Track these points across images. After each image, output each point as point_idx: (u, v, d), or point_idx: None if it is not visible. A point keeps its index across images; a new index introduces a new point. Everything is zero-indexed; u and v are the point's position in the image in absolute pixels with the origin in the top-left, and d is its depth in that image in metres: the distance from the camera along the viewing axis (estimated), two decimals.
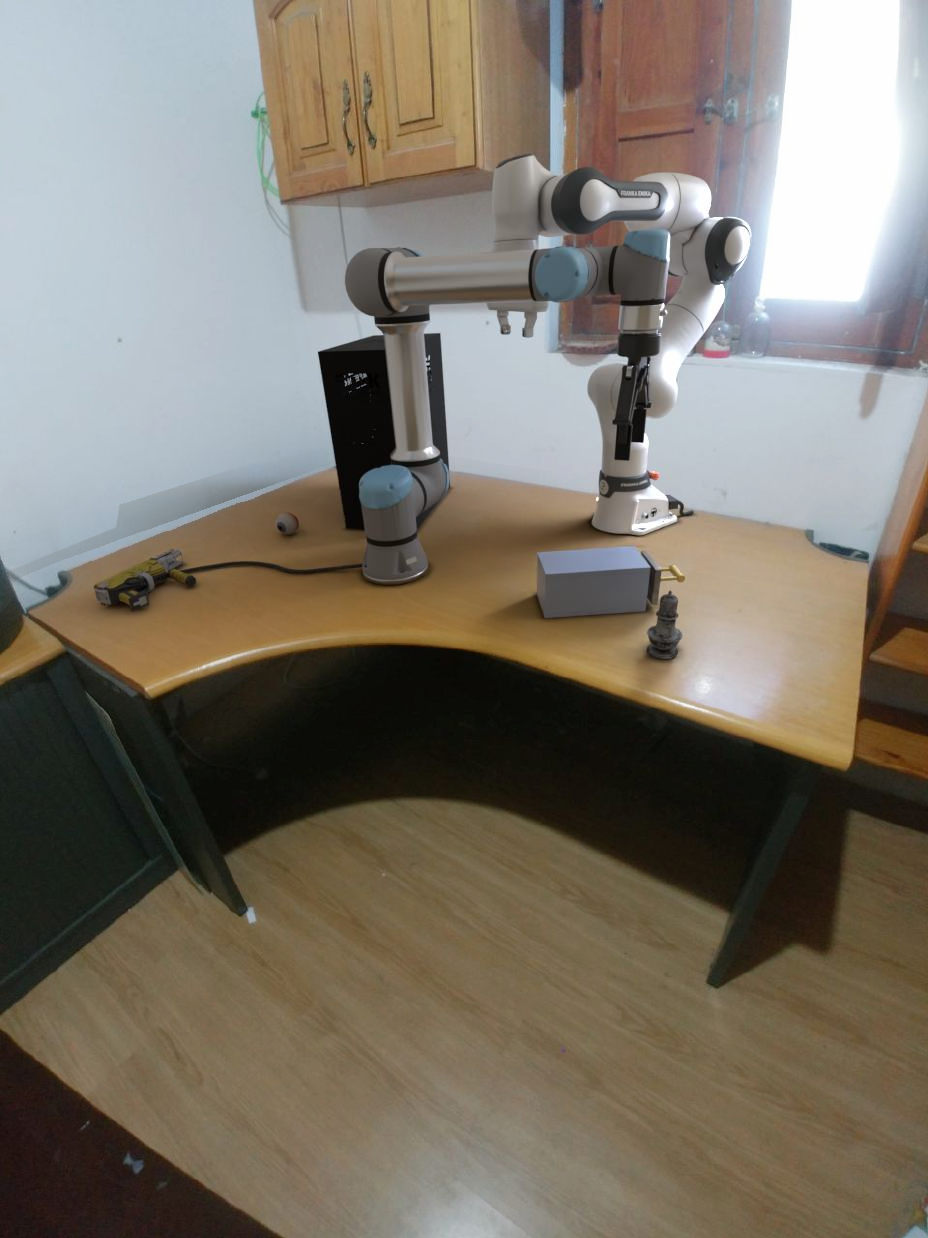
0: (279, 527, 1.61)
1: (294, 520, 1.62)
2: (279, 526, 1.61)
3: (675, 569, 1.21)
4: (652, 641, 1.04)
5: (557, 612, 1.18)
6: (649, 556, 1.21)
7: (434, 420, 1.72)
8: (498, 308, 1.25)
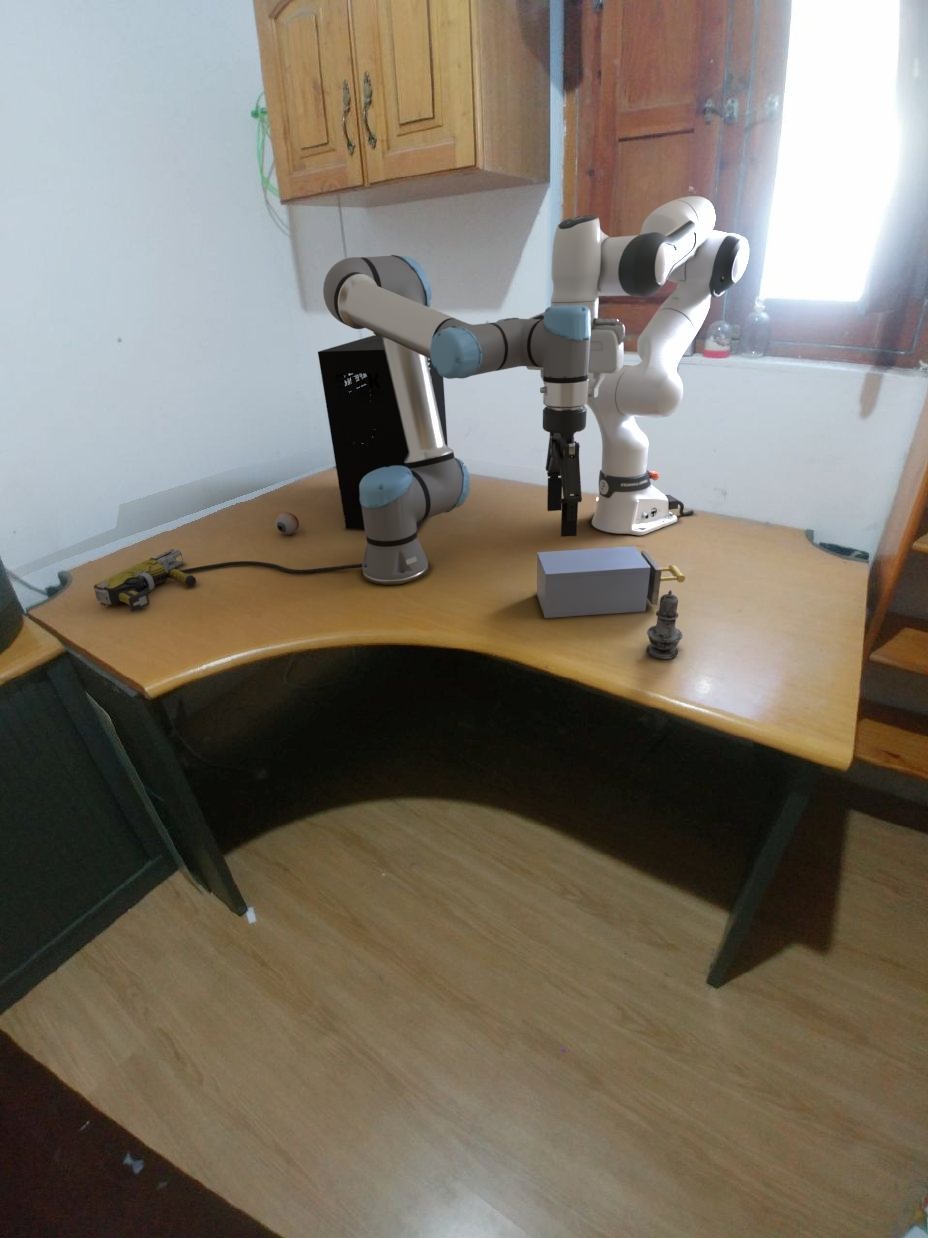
0: (279, 527, 1.61)
1: (294, 520, 1.62)
2: (279, 526, 1.61)
3: (675, 569, 1.21)
4: (652, 641, 1.04)
5: (557, 612, 1.18)
6: (649, 556, 1.21)
7: None
8: None
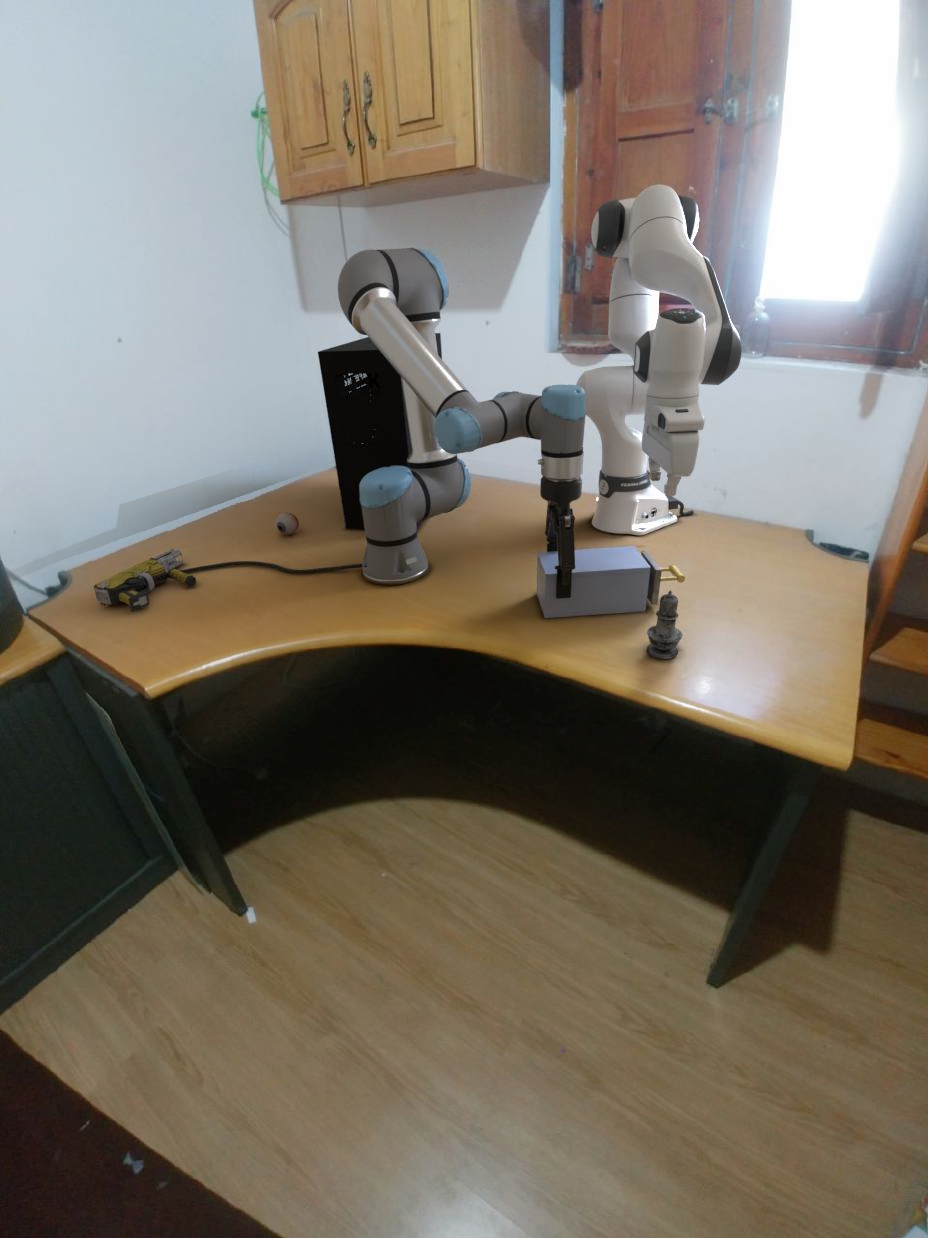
0: (279, 527, 1.61)
1: (294, 520, 1.62)
2: (279, 526, 1.61)
3: (675, 569, 1.21)
4: (652, 641, 1.04)
5: (557, 612, 1.18)
6: (649, 556, 1.21)
7: None
8: None
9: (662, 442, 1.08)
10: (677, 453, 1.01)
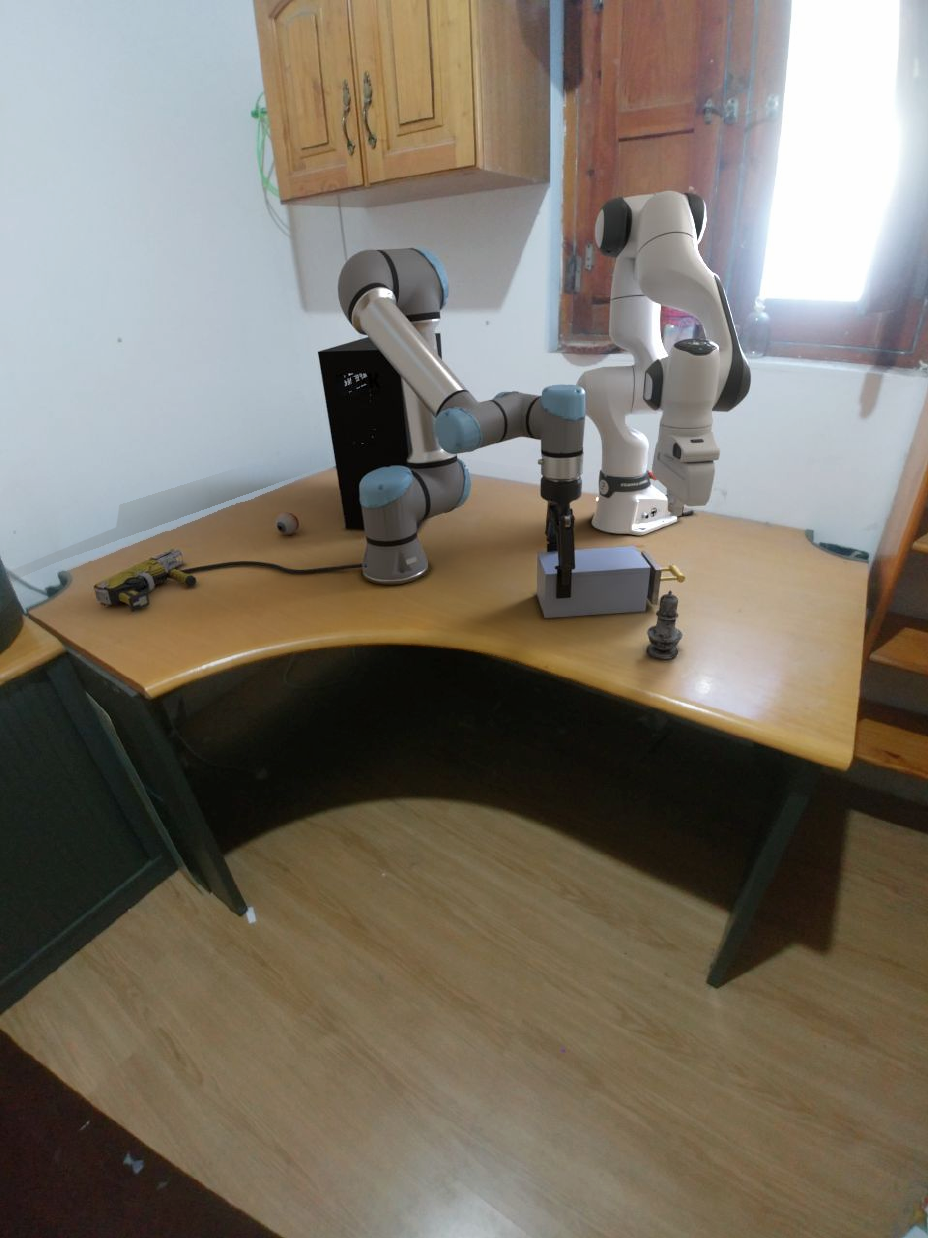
0: (279, 527, 1.61)
1: (294, 520, 1.62)
2: (279, 526, 1.61)
3: (675, 569, 1.21)
4: (652, 641, 1.04)
5: (557, 612, 1.18)
6: (649, 556, 1.21)
7: None
8: None
9: (676, 470, 1.08)
10: (693, 483, 1.02)
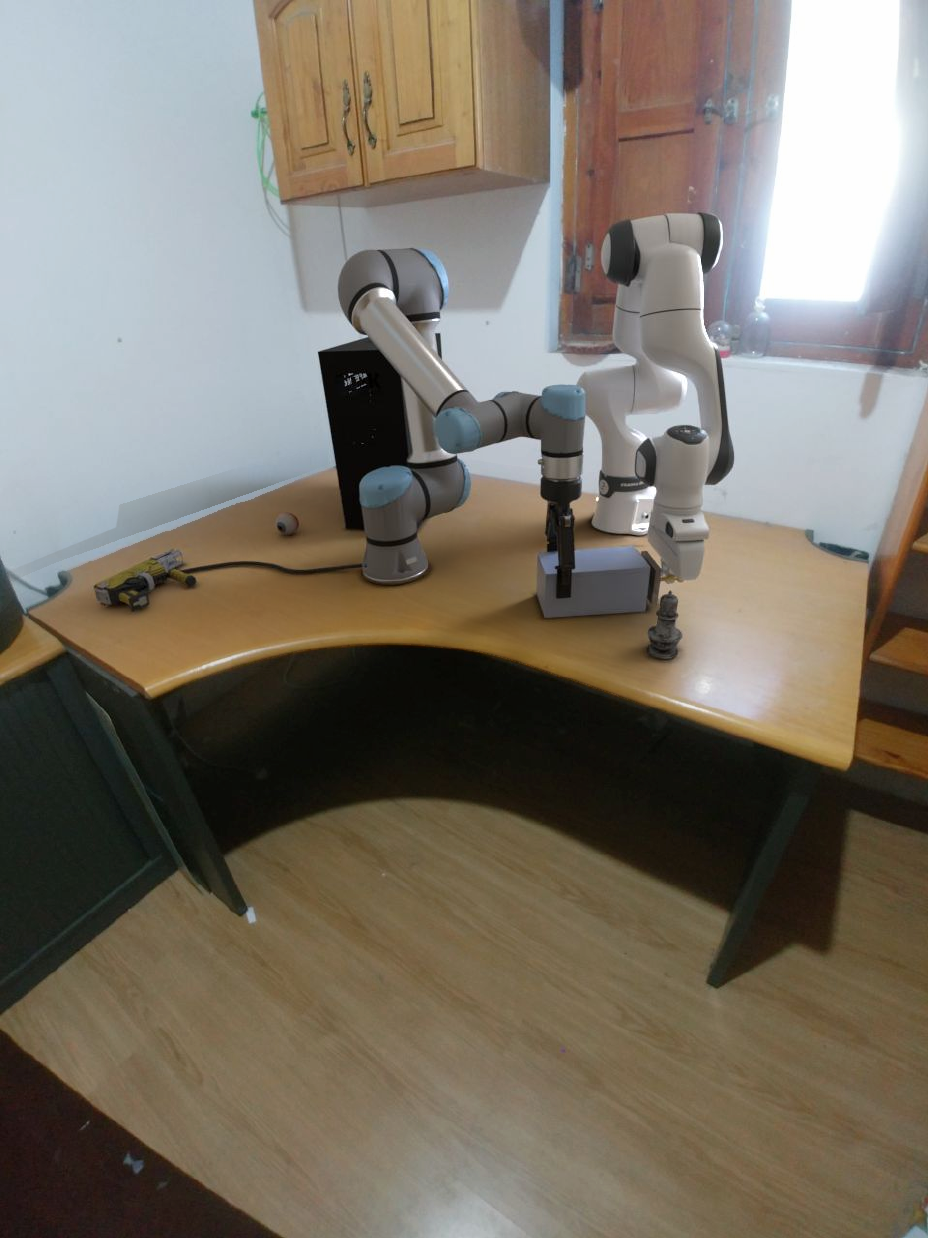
0: (279, 527, 1.61)
1: (294, 520, 1.62)
2: (279, 526, 1.61)
3: None
4: (652, 641, 1.04)
5: (557, 612, 1.18)
6: (649, 556, 1.21)
7: None
8: None
9: (669, 544, 1.15)
10: (684, 560, 1.09)
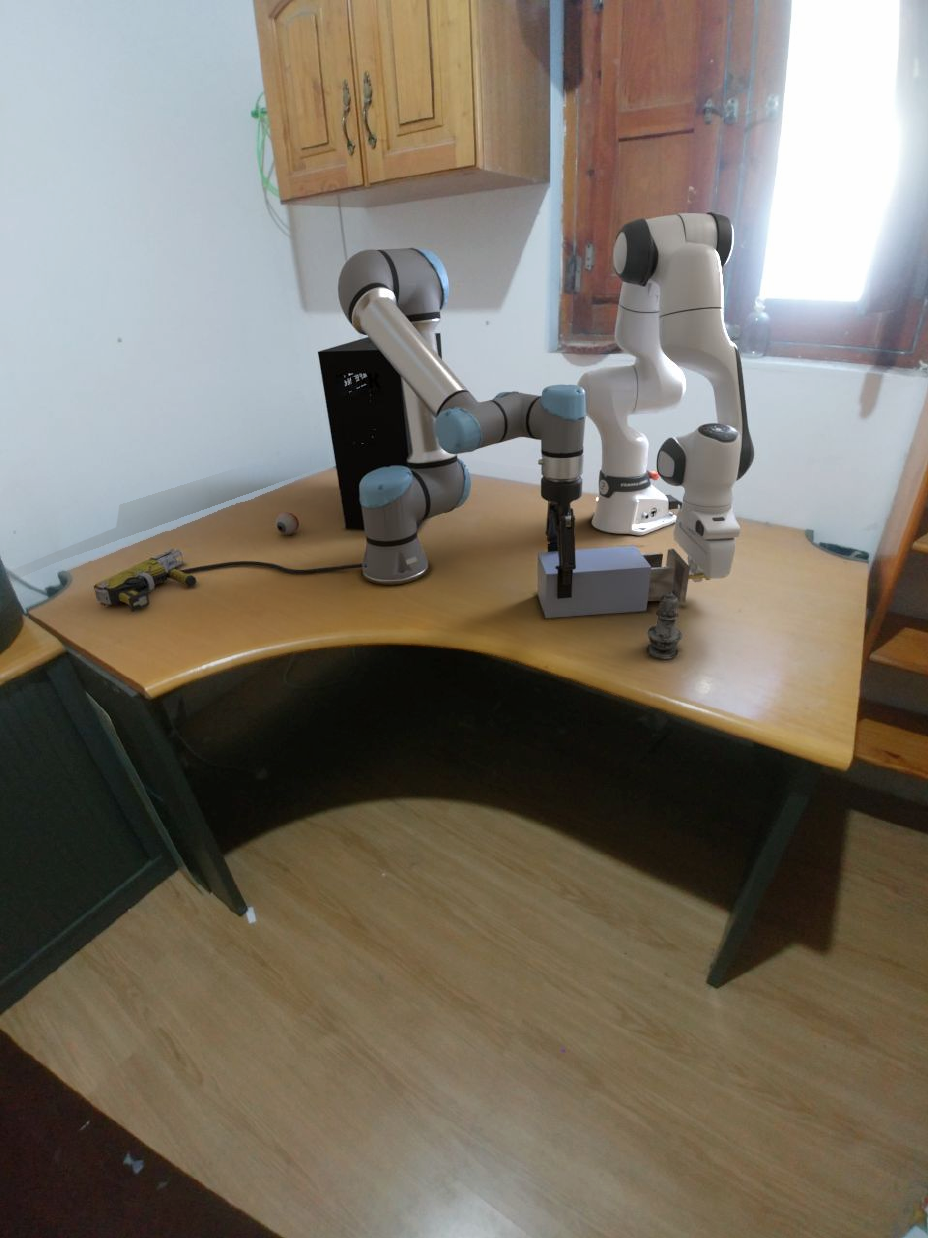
0: (279, 527, 1.61)
1: (294, 520, 1.62)
2: (279, 526, 1.61)
3: None
4: (652, 641, 1.04)
5: (558, 612, 1.18)
6: (676, 554, 1.21)
7: None
8: None
9: (697, 542, 1.16)
10: (715, 559, 1.09)
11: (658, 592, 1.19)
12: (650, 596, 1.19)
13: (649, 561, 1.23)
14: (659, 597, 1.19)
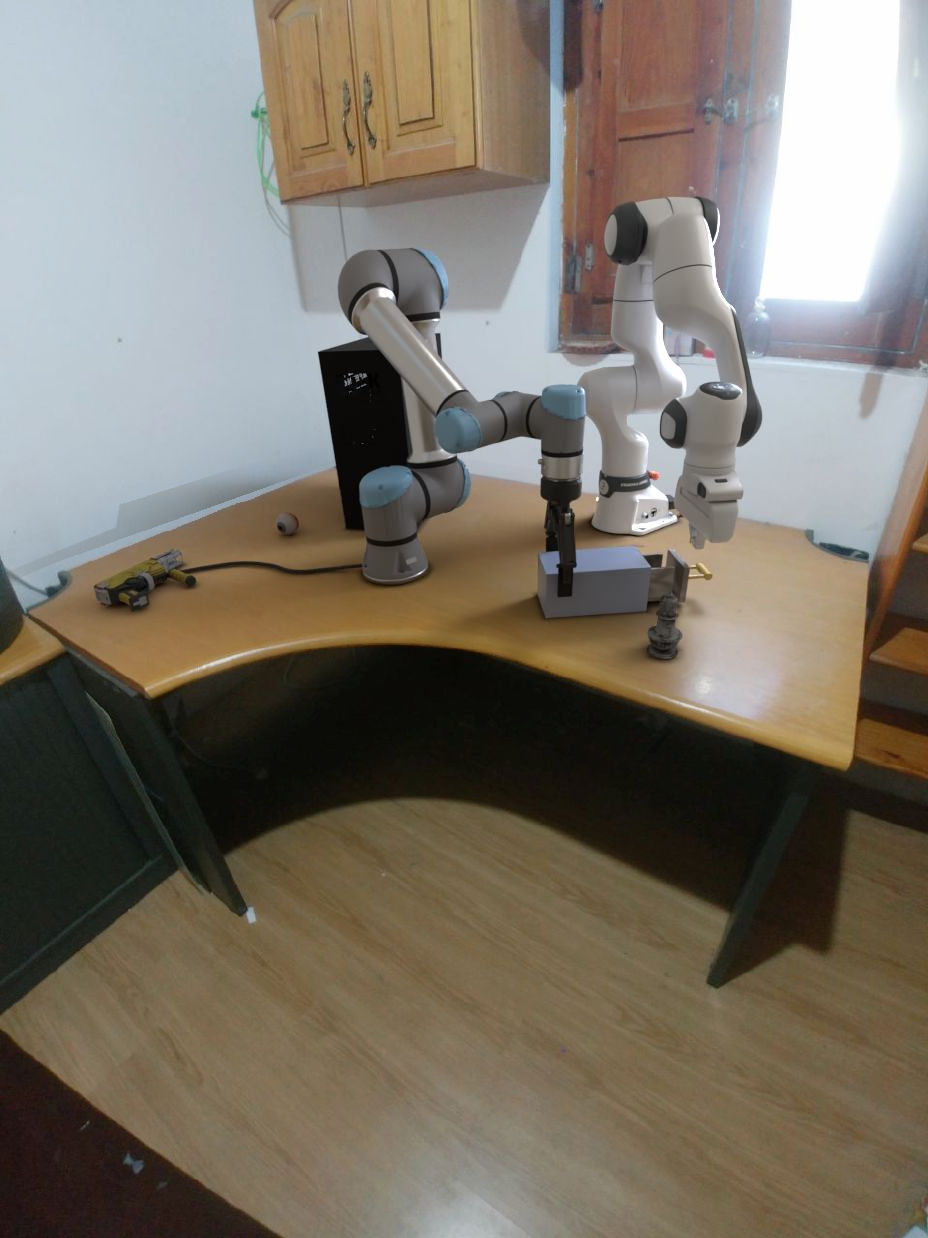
0: (279, 527, 1.61)
1: (294, 520, 1.62)
2: (279, 526, 1.61)
3: (702, 567, 1.21)
4: (652, 641, 1.04)
5: (558, 612, 1.18)
6: (676, 554, 1.21)
7: None
8: None
9: (699, 507, 1.12)
10: (718, 521, 1.05)
11: (658, 592, 1.19)
12: (650, 596, 1.19)
13: (649, 561, 1.23)
14: (659, 597, 1.20)
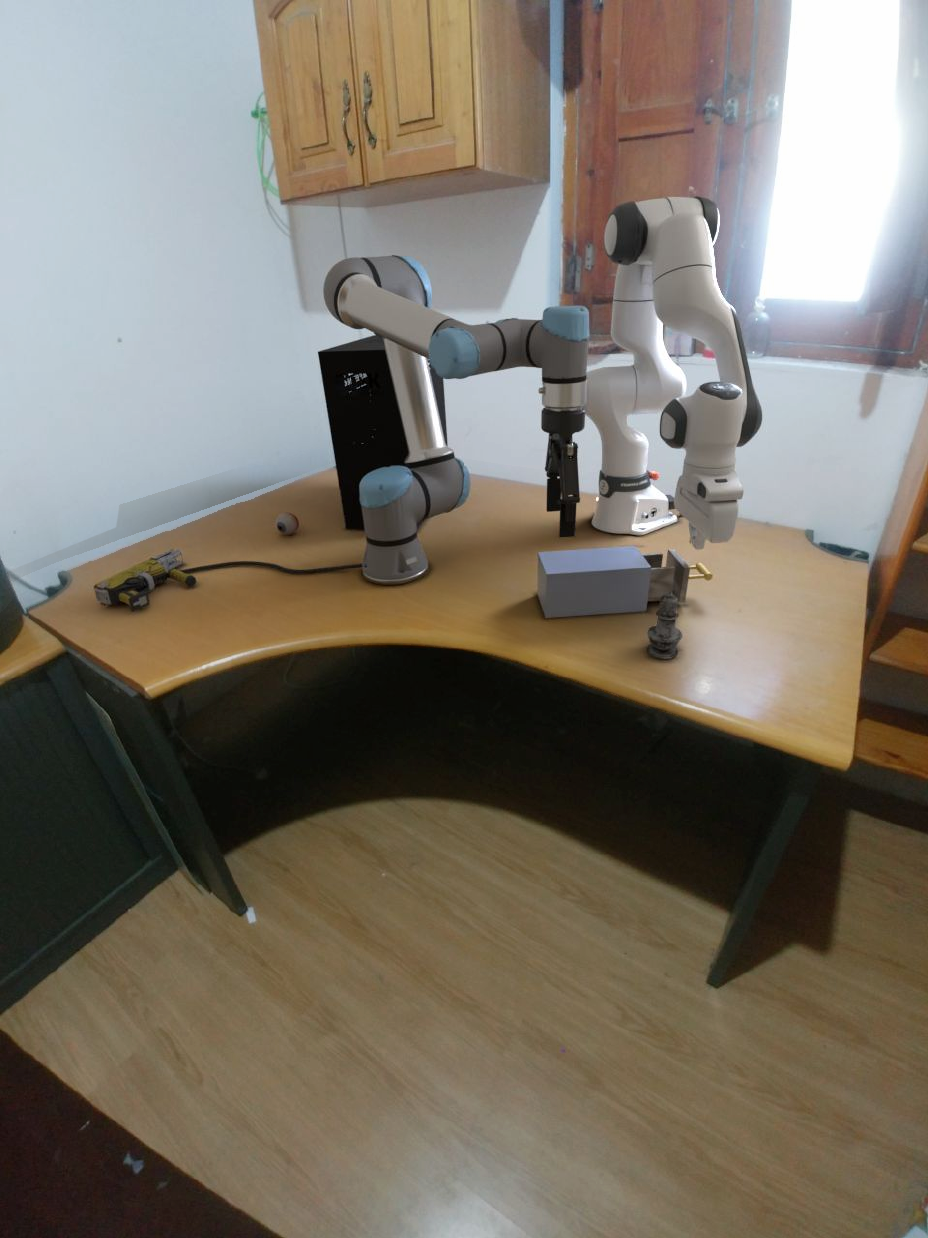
0: (279, 527, 1.61)
1: (294, 520, 1.62)
2: (279, 526, 1.61)
3: (702, 567, 1.21)
4: (652, 641, 1.04)
5: (558, 612, 1.18)
6: (676, 554, 1.21)
7: None
8: None
9: (699, 507, 1.12)
10: (718, 521, 1.05)
11: (658, 592, 1.19)
12: (650, 596, 1.19)
13: (649, 561, 1.23)
14: (659, 597, 1.20)
